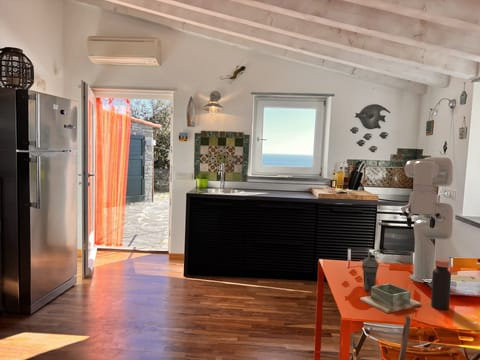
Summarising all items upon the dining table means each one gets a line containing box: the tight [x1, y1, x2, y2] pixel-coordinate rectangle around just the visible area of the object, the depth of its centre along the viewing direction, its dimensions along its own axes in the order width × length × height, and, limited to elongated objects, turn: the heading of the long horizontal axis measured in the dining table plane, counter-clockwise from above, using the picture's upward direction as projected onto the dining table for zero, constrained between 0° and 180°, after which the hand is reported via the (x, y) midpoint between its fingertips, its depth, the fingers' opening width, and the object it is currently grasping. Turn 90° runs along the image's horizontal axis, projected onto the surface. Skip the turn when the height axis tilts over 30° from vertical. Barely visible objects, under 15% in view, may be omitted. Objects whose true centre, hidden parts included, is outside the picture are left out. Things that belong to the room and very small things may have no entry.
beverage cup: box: [361, 247, 379, 292], centre depth 175 cm, size 7×7×20 cm
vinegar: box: [430, 258, 452, 311], centre depth 155 cm, size 7×7×20 cm
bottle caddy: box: [359, 283, 422, 314], centre depth 159 cm, size 20×15×6 cm
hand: (420, 227), depth 164 cm, fingers open, 9 cm apart
